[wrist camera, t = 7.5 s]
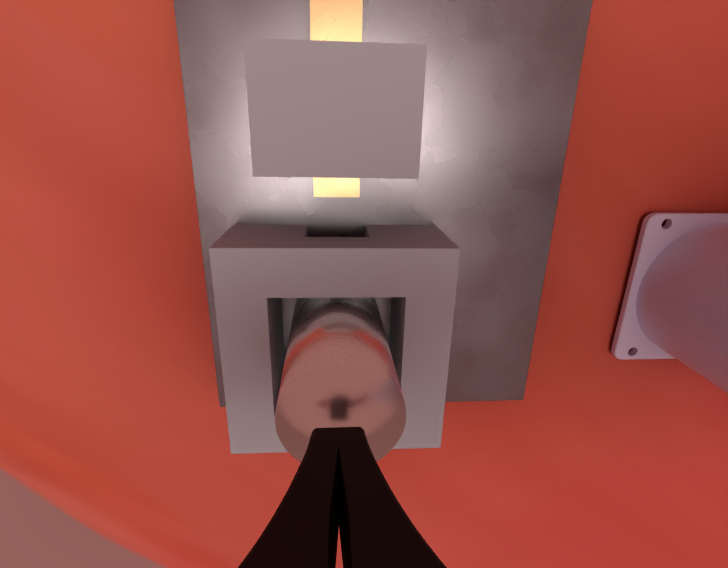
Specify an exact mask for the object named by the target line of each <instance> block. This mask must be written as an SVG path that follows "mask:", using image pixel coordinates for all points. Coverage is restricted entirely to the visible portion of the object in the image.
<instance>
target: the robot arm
mask: <svg viewBox="0 0 728 568" xmlns="http://www.w3.org/2000/svg"><path fill="white" fill-rule="evenodd" d="M665 219H666V224H665V225H664V226H663V227H662V222H663V221H664V220H665ZM631 348H633V349H632V350H631V351H630V352H628V351H629V350H630V349H631ZM611 353H612V355H614V356H615V357H616V358H618V359H621V360H624V359H677V360H679V361H680V362H682V363H683V364H685V365H686V366H688V367H689V368H691V369H692V370H694V371H695V372H697V373H698V374H699V375H701V376H702V377H704V378H705V379H707V380H708V381H710V382H711V383H713V384H714V385H716V386H717V387H719V388H720V389H722V390H723V391H725V392H726V393H728V213H668V212H654V213H650V214H648V215H647V216H646V217H645V218H644V220H643V222H642V226H641V230H640V234H639V238H638V242H637V246H636V251H635V255H634V259H633V263H632V267H631V271H630V275H629V279H628V283H627V287H626V291H625V295H624V299H623V303H622V307H621V312H620V316H619V320H618V324H617V328H616V332H615V336H614V340H613V344H612V348H611ZM338 528H339V530H340V540H341V550H342V560H343V568H447V567H446V566H445V565H444V564H443V563H442V562H441V560H440V559H439V558H438V557H437V555H436V554H435V553H434V552H433V550H432V549H431V548H430V547H429V545H428V544H427V543H426V542H425V540H424V539H423V537H422V536H421V535H420V533H419V532H418V531H417V529H416V528H415V526H414V525H413V524H412V522H411V521H410V519H409V518H408V516H407V515H406V513H405V512H404V510H403V509H402V507H401V505H400V504H399V502H398V501H397V499H396V497H395V496H394V494H393V492H392V491H391V489H390V487H389V485H388V483H387V481H386V480H385V478H384V476H383V474H382V472H381V470H380V468H379V466H378V464H377V462H376V460H375V458H374V456H373V453H372V451H371V449H370V446H369V444H368V441H367V438H366V435H365V431H364V429H362V428H361V427H330V428H315V429H314V430H313V431H312V433H311V438H310V441H309V444H308V447H307V450H306V452H305V455H304V457H303V459H302V462H301V464H300V466H299V468H298V471H297V473H296V475H295V477H294V479H293V481H292V483H291V485H290V487H289V489H288V491H287V493H286V494H285V496H284V498H283V500H282V502H281V503H280V505H279V507H278V509H277V510H276V512H275V514H274V516H273V517H272V519H271V521H270V522H269V524H268V525H267V527H266V529H265V530H264V532H263V533H262V535H261V536H260V538H259V539H258V541H257V542H256V544H255V545H254V546H253V548H252V549H251V551H250V552H249V554H248V555H247V556H246V558H245V559H244V560H243V562H242V563H241V564H240V566H239V567H238V568H335V566H336V554H337V541H338Z"/></svg>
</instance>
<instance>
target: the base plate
mask: <svg viewBox="0 0 728 568" xmlns="http://www.w3.org/2000/svg"><path fill="white" fill-rule="evenodd" d="M591 6H592V0H363V8H362V42H378V43H407V44H427V56H426V72H425V88H424V104H423V121H422V137H421V153H420V169H419V179H388V178H360V197H314V186H313V178H312V177H253V172H252V158H251V143H250V128H249V113H248V99H247V84H246V69H245V55H244V40H243V38H263V39H291V40H310V0H174V8H175V17H176V26H177V35H178V43H179V52H180V61H181V70H182V78H183V87H184V96H185V105H186V113H187V122H188V131H189V140H190V148H191V157H192V166H193V175H194V183H195V192H196V201H197V210H198V218H199V227H200V236H201V245H202V253H203V262H204V271H205V280H206V288H207V297H208V306H209V315H210V323H211V332H212V341H213V350H214V358H215V367H216V376H217V385H218V393H219V402H220V407H226V402H225V393H224V384H223V375H222V365H221V356H220V347H219V338H218V329H217V319H216V310H215V301H214V292H213V282H212V273H211V264H210V255H209V247H210V246H212V245H213V244H214V243H215V242H216V241H217V240H218V239H219V238H220V237H221V236H222V235H223V234H224V233H225V232H226V231H227V230H228V229H230V228H231V227H232V226H233V225H234V224H285V225H307V231H308V237H365V231H366V225H436V226H437V227H438V228H439V229H440V230H441V231H442V232H443V233H444V234H446V235H447V236H448V237H449V238H450V239H451V240H452V241H453V242H454V243H455V244H456V245H457V246H458V247H459V248H460V257H459V267H458V277H457V287H456V297H455V307H454V317H453V327H452V337H451V347H450V357H449V367H448V377H447V387H446V397H445V402H451V401H496V400H523V397H524V391H525V385H526V380H527V374H528V368H529V362H530V357H531V351H532V345H533V339H534V334H535V328H536V322H537V316H538V311H539V305H540V299H541V293H542V288H543V282H544V276H545V270H546V265H547V259H548V253H549V247H550V242H551V236H552V230H553V224H554V219H555V213H556V207H557V201H558V196H559V190H560V184H561V179H562V173H563V167H564V161H565V156H566V150H567V144H568V138H569V133H570V127H571V121H572V115H573V110H574V104H575V98H576V92H577V87H578V81H579V75H580V69H581V64H582V58H583V52H584V46H585V41H586V35H587V29H588V23H589V18H590V12H591ZM281 299H282V318H283V338H284V358H285V357H286V352H287V346H288V341H289V335H290V330H291V324H292V319H293V314H294V308H295V303H296V300H297V298H281ZM375 299H376V302H377V305H378V309H379V312H380V316H381V320H382V323H383V327H384V330H385V334H386V337H387V341H388V345H389V335H390V312H391V297H375Z"/></svg>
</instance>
